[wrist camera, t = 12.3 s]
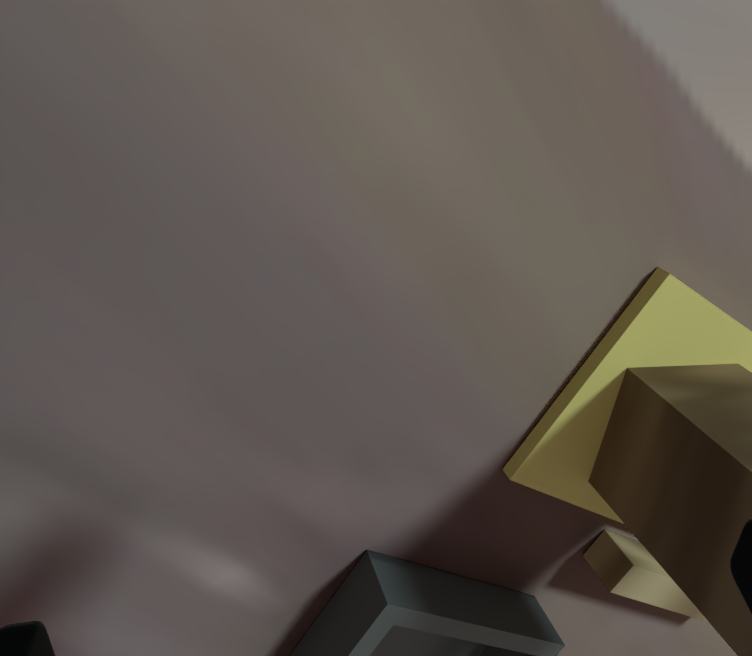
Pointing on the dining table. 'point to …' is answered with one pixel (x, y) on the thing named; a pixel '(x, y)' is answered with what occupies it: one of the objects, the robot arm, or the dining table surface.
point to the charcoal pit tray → (426, 616)
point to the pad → (604, 378)
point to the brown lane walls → (636, 574)
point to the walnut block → (685, 479)
